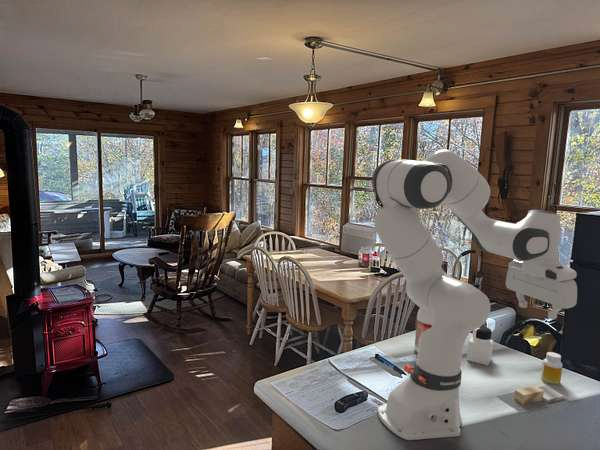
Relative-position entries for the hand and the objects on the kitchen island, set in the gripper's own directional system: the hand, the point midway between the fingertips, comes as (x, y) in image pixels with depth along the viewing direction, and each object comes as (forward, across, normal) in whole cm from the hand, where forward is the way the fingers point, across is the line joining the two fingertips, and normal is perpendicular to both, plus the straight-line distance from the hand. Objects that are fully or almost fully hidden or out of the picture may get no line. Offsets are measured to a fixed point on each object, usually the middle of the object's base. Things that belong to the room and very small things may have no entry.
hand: (537, 312), depth 120 cm
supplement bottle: (+28, -5, +14) cm, 32 cm away
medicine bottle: (+28, -25, +4) cm, 37 cm away
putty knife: (+26, +1, 0) cm, 26 cm away
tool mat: (+27, +1, -1) cm, 27 cm away
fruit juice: (+26, -36, -10) cm, 46 cm away
